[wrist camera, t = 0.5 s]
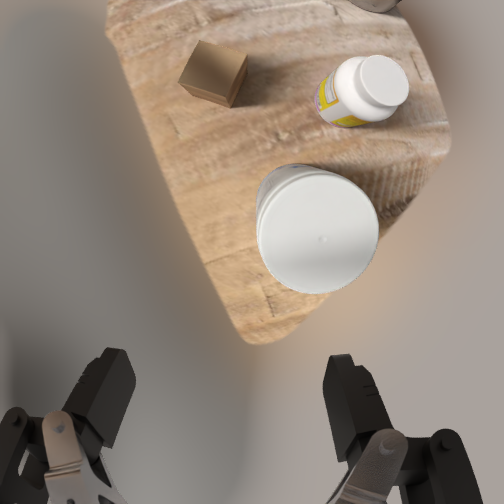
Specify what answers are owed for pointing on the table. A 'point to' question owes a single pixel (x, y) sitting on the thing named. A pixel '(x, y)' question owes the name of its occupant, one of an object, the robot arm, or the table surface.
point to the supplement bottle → (362, 91)
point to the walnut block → (214, 73)
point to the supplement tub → (314, 228)
